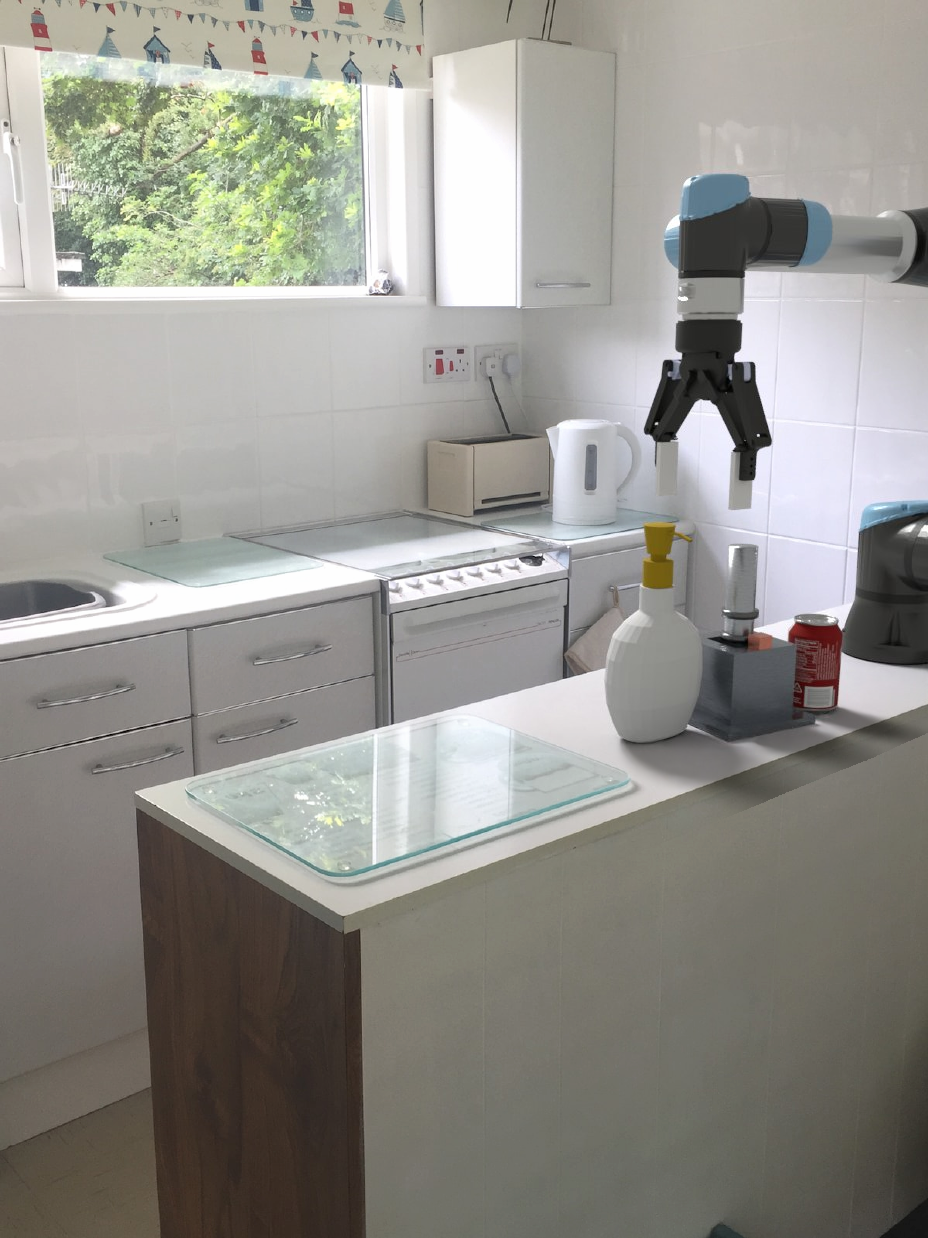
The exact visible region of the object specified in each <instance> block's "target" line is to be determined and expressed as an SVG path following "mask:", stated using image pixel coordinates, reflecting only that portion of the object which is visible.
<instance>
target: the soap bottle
mask: <svg viewBox="0 0 928 1238" xmlns="http://www.w3.org/2000/svg"><path fill="white" fill-rule="evenodd" d="M676 527H677V525H676V523H672V522H664V521H653V522H652V521H651V522H644V523H643V531H644V532H643V533H644V541H645V549H646V554H648V555H650V557H646V558H644V559H642V576H641V577H642V580H641V581H642V583H639V595H638V597H639V599H638V600H639V602H638V603H639V604H638V605H639V607H638V610H635V612H634V613H632V614H631V615H630V616H629V617H627V618H626V619H625V620H624V621H623V622H622V623H621V624H620V625H619V627H618V628H617V629H616V630H615V631H614V632H613V634H612V636H611V639H610V643H609V647H608V651H607V653H606V659H605V660H606V661H605V672H604V692H605V702H606V706H607V708H608V709H607V710H608V712H609V716H610V718H611V721H612V724H613V727H614V728H615V730H616V732H617V735H618V736H619V737H620V738H622V739H624V740H626V741H627V742H632V743H637V744H638V743H639V744H645V743H646V744H647V743H653V742H657V741H658V742H659V741H662V740H665V739H668V738H672V737H675V736H678V735H679V734H681V733H683V732H684V731H685V730H686V729H687V727H688V725H689V724H688V722H689V720H690V718H691V715H692V713H693V710H694V707H695V704H696V702H697V699H698V696H699V691H700V684H701V678H702V671H703V662H702V644H701V640H700V636H699V634H700V633H699V630H698V628H697V627H696V626H695V625H694V624H693V623H692V621H691V620H690V619H689V618H688V617H686V616H685V615H683V614H681V613H680V612H678V611H676V610H675V599H676V598H675V597H676V585H674V564H675V563H674V559H673V558H669V557H667V555H671V552H672V546H673V541H674V537H675V536H676V537H679V538H681V539H682V540H684V541H686V542H688V543H692V542H693V539H692V538H691V537H689V536H687V535H686V534H684V533H682V532H678V531H675V530H676Z"/></svg>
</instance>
